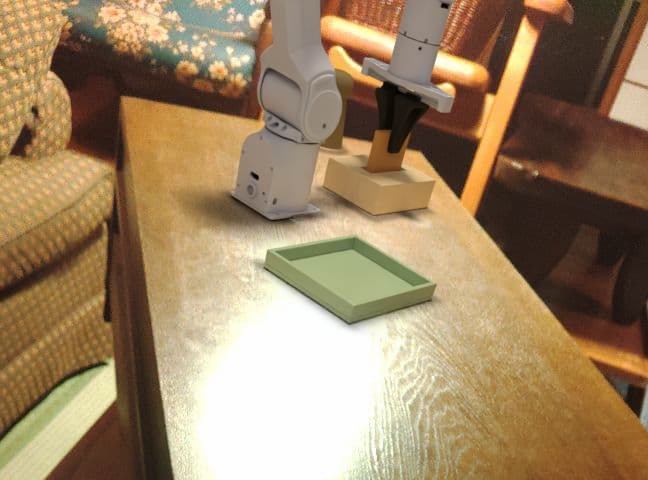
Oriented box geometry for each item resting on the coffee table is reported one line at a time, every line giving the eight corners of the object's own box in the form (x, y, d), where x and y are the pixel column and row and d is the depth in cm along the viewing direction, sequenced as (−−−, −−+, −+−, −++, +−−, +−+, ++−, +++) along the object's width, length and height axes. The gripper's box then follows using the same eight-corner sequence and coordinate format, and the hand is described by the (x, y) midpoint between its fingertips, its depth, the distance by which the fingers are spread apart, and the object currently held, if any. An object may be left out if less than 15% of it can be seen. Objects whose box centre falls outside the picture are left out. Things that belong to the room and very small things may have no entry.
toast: (367, 186, 105) (381, 133, 100) (362, 182, 105) (375, 129, 101) (396, 183, 109) (411, 132, 105) (390, 180, 110) (405, 129, 105)
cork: (337, 155, 121) (354, 79, 113) (302, 143, 121) (317, 66, 113) (344, 147, 125) (361, 73, 118) (310, 135, 125) (325, 61, 118)
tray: (349, 323, 78) (354, 305, 76) (263, 266, 83) (266, 249, 81) (431, 299, 88) (437, 283, 86) (351, 250, 93) (355, 234, 91)
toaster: (372, 219, 103) (381, 185, 100) (321, 189, 106) (328, 156, 104) (429, 210, 112) (439, 179, 109) (380, 183, 116) (388, 152, 113)
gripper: (479, 59, 95) (444, 169, 104) (395, 22, 101) (368, 129, 110) (449, 56, 91) (414, 171, 100) (363, 17, 96) (337, 130, 105)
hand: (388, 150), depth 104 cm, fingers closed on toast, 1 cm apart
